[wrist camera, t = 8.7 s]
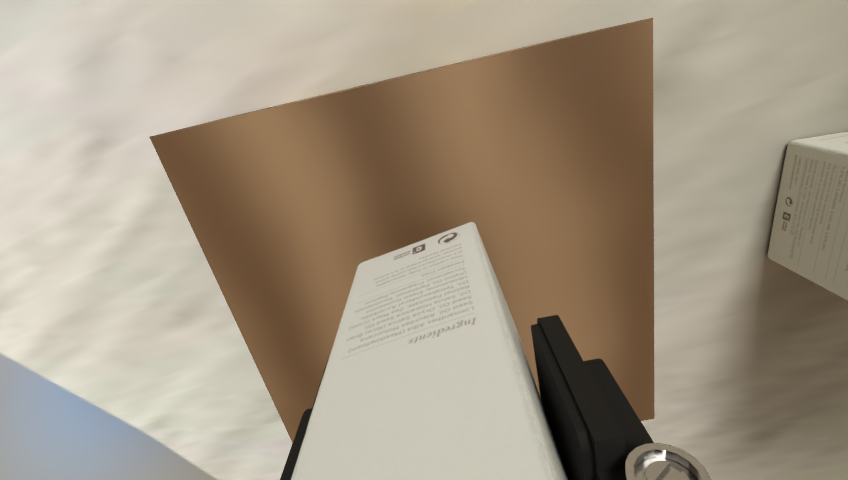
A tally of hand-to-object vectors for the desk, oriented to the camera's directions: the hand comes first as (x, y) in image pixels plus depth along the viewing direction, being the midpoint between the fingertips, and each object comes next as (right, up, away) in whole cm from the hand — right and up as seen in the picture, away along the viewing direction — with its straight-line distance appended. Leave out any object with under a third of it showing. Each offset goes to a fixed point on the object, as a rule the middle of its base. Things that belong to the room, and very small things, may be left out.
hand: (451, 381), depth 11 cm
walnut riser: (0, +4, +10) cm, 11 cm away
